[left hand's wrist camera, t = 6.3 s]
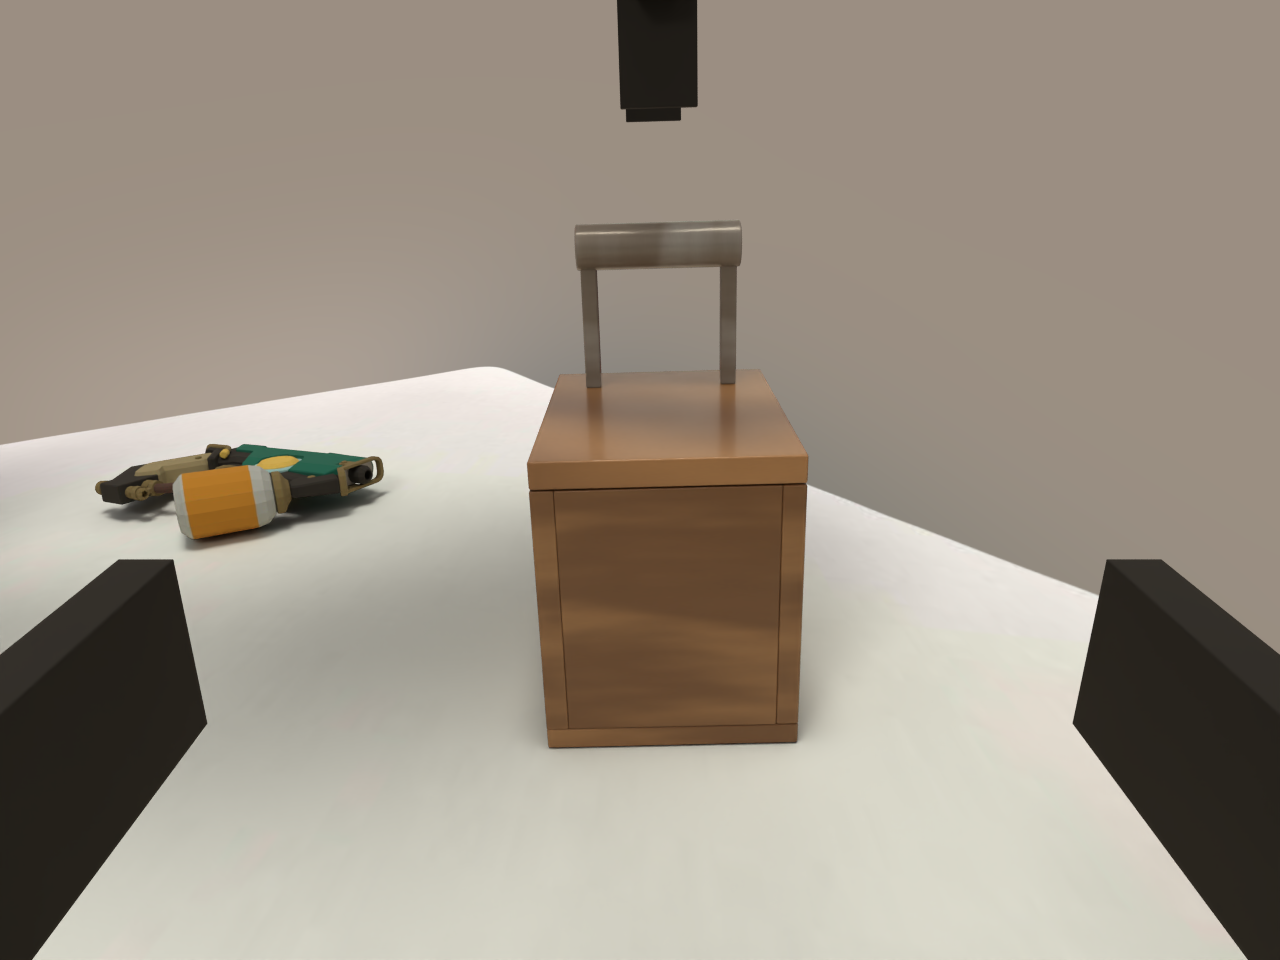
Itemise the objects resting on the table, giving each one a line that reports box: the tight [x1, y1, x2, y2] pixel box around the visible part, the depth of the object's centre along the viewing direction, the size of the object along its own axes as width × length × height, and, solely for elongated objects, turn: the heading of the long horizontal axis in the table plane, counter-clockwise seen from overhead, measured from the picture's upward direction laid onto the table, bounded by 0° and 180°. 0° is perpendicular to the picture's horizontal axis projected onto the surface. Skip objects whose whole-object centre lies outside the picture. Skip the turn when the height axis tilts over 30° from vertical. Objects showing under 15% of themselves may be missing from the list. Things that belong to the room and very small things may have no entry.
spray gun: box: [95, 444, 384, 539], centre depth 62 cm, size 4×17×15 cm
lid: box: [527, 220, 808, 490], centre depth 37 cm, size 14×10×8 cm
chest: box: [529, 483, 807, 747], centre depth 40 cm, size 13×10×11 cm
